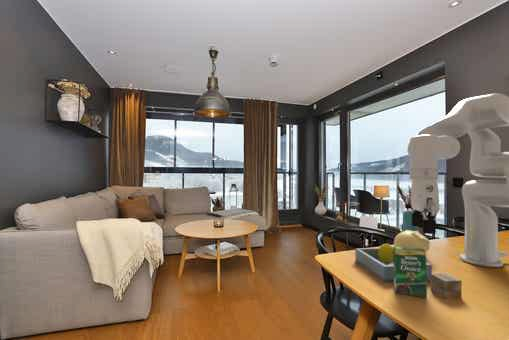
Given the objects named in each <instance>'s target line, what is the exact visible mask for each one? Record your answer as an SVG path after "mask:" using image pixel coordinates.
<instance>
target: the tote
mask: <svg viewBox="0 0 509 340" xmlns="http://www.w3.org/2000/svg"><path fill="white" fill-rule="evenodd" d="M379 248H380V247H362V248H361V247H359V248H356V247H355V255H354V256H355V259H354V260H355V263H357V264H358V265H360V266H361V267H362V268H364V269H366V271H368V272H369V273H371V274H372V275H373V276H374V277H376V278H377V279H379V280H380V281H381V282H383V283H394V261H393V262H392V263H390V264H388V265H386V264H385V263H383V262H382V261H381V260H380V258H379V255H378V251H379ZM432 271H433V264H431V263H429V262H427V261H426V275H427V281H431V274H433V272H432Z"/></svg>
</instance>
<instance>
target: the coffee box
mask: <svg viewBox="0 0 509 340" xmlns="http://www.w3.org/2000/svg"><path fill="white" fill-rule="evenodd" d="M392 247H393V256H394V282H393V289H394V290H393V291H394V292H395V293H396V294H398V295H406V296H412V297H417V298H418V297H419V298H425V299H426V298H427V297H428V295H427V294H428V287H427V285H428V284H427V282H428V280H427V275H426V262H427V252H426V251H425V250H424V249H417V248H415V249H414V248H402V247H394V246H392Z"/></svg>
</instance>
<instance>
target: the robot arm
mask: <svg viewBox="0 0 509 340" xmlns="http://www.w3.org/2000/svg"><path fill="white" fill-rule="evenodd" d="M502 127H509V96H507V95H505V94H503V93H500V92H499V93H496V92H494V93H493V92H492V93H489V94H483V95H478V96H473V97H468V98H465V99H462V100H461V101H459V102H457V104H456V105H455V106H454V107H453V108H451V110H450V112H448V114H446V116H445V117H444V118H441V119H439V120H437V121H435V122H434V123H432V124H430V125H427V126H425V127H424V128H422V129H420V130H419V131H418V132H416V134H415V135H414V136H412V137H411V138H410V139H409V143H408V145H407V155H408V156H409V168H408V169H409V173H408V174H409V175H408V176H409V178H408V179H409V180H411V189H410V203H411V206H412V209H411V211H412V226H418V228H419V227H421V228H422V233H424V234H427V235H428V234H429V235H431V234H432V235H436V233H437V231H436V230H437V214H438V213H439V212H440V196H439V195H440V194H439V186H438V181H439V160H449V159H453V158H455V157H456V156H458V154H459V153H460V150H461V144H460V141H459V139H457V138H460V137H462V136H464V135H466V134H468V136H469V138H470V142H471V148H470V159H469V170H470V171H469V172H470V174H472V175H473V176H474V177H481V178H502V179H503V178H505V179H506V180H491V179H490V180H489V179H473V180H469V181H466V182H465V183H463V185H462V188H461V194H462V199H463V204H464V252H463V253H461V254H460V255H459V259H460V260H462V261H464V262H466V263H468V264H472V265H476V266H481V267H486V268H501V267H503V266H504V262H503V260H500V259H501V258H508V257H509V253H508V252H506V251H500V250H498V242H499V241H498V239H499V238H498V234H499V233H498V232H499V231H498V230H499V228H498V227H499V226H498V223H499V219H498V216H497V214H496V212H495V211H494V210H493V208H492V207H499V208H509V151H501V145H502V144H501V143H502V141H501V139H500V137H499V136H498V135H497V134H496V133H495V132H494V131H493V130H491V129H494V128H502Z"/></svg>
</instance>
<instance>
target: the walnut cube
mask: <svg viewBox="0 0 509 340" xmlns="http://www.w3.org/2000/svg"><path fill="white" fill-rule="evenodd" d="M462 282H463V280H461V279H460V278H457V277H455V276H453V275H451V274H449V273H447V272H444V273H443V272H442V273H432V274H431V280H430V291H431V292H433V293H434V294H436V295H438V296H439V297H441V298H442V299H444V300H445V299H446V300H449V299H451V298H452V299H462V285H463V284H462Z"/></svg>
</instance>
